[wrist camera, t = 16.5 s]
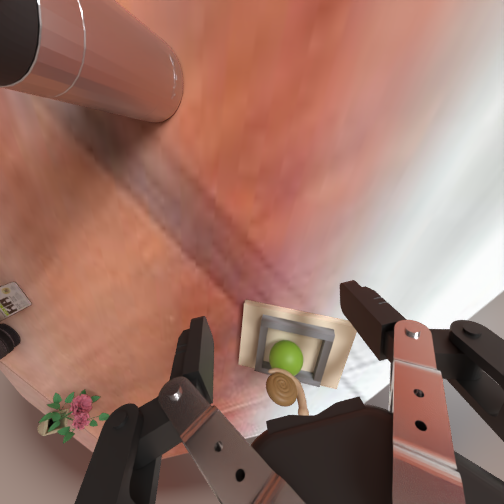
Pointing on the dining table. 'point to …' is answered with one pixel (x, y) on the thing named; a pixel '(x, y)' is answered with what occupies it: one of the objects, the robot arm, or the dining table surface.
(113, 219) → the dining table surface
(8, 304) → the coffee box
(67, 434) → the flower vase
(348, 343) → the board
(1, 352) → the camera lens
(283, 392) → the snail figurine
